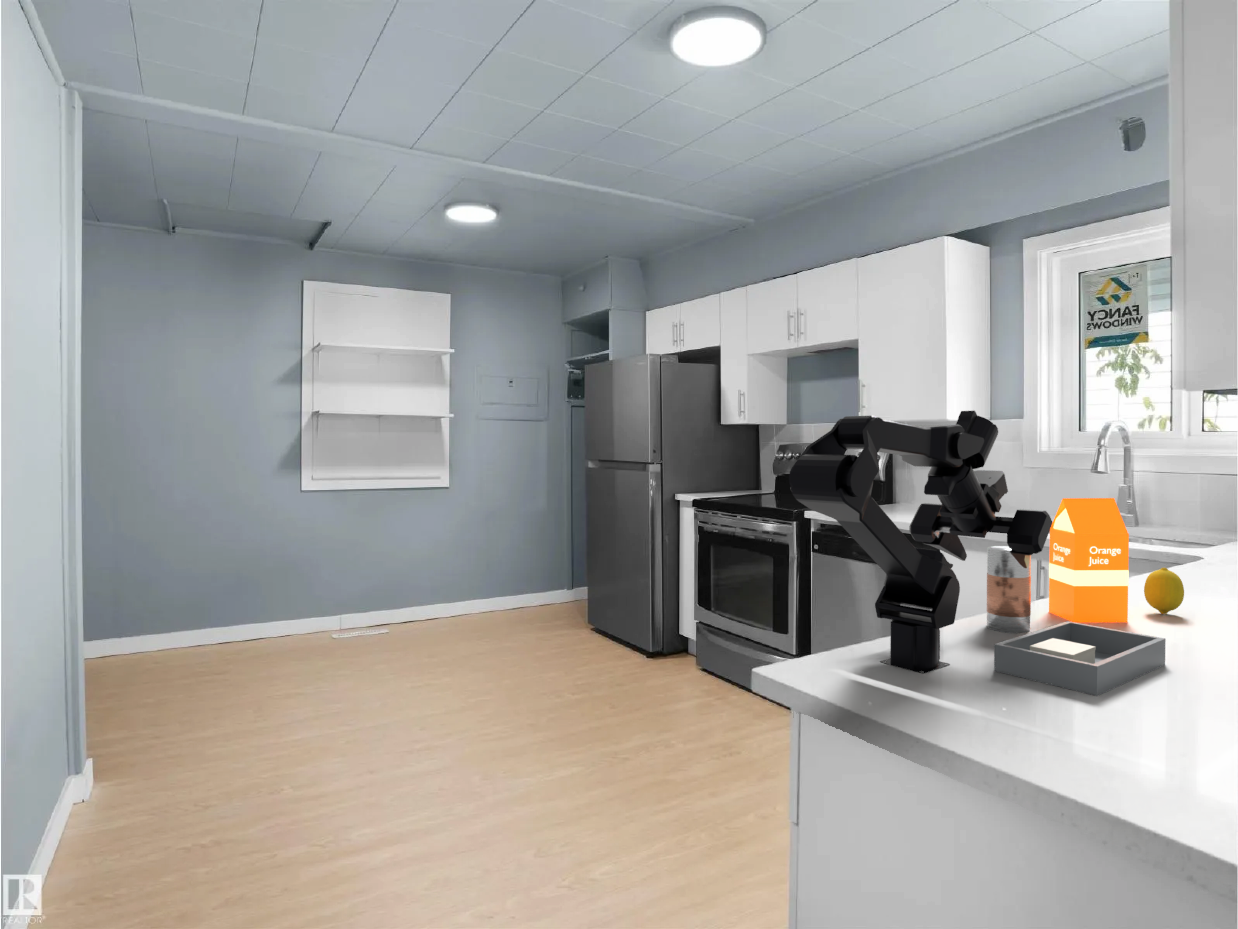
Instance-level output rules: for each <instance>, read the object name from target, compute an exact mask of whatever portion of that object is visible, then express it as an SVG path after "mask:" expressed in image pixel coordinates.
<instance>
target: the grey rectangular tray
mask: <svg viewBox="0 0 1238 929" xmlns="http://www.w3.org/2000/svg"><path fill="white" fill-rule="evenodd" d="M1052 638H1055V639H1060V640H1065V641H1070V642H1075V643H1080V644H1085V645H1090V646H1095V647H1096V650H1095V663H1094V664H1091V663H1087V662H1082V661H1078V660H1073V659H1068V658H1064V657H1059V656H1054V655H1050V654H1045V653H1040V652H1036V651H1031V650H1030V646H1031V645H1034V644H1037V643H1040V642H1043V641H1046V640H1049V639H1052ZM1166 641H1167V640H1166V638H1164V637H1158V636H1154V635H1149V634H1142V633H1135V632H1131V631H1124V630H1119V629H1115V628H1108V627H1102V626H1098V625H1091V624H1086V623H1082V622H1079V623H1075V622H1071V621H1069V620H1067V621H1064V622H1060V623H1058V624H1055V625H1051V626H1048V627H1045V628H1041V629H1038V630H1035V631H1032V632H1027V633H1024V634H1023V635H1019V636H1017V637H1012V638H1009V639H1006V640H1004V641H1000V642H997V643H994V646H993V647H994V648H993V650H994V651H993V652H994V653H993V654H994V657H993V658H994V660H993V661H994V662H993V664H994V665H993V666H994V668H993V672H997V673H1001V674H1006V675H1008V676H1012V677H1013V676H1014V677H1017V678H1021V679H1026V680H1030V681H1033V682H1036V683H1037V682H1038V683H1042V684H1046V685H1050V686H1054V687H1058V688H1062V689H1067V690H1069V691H1074V692H1078V693H1083V694H1086V695H1091V696H1095V697H1098V696H1100V695H1103V694H1105V693H1108V692H1109V691H1111V690H1113V689H1115V688H1118V687H1120V686H1122V685H1124V684H1126V683H1129V682H1131V681H1133V680H1136V679H1138V678H1140V677H1142V676H1144V675H1146V674H1149V673H1151V672H1153V671H1155V670H1157V669H1159V668H1161V667H1164V666H1166Z"/></svg>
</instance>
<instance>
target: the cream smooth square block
mask: <svg viewBox="0 0 1238 929" xmlns="http://www.w3.org/2000/svg"><path fill="white" fill-rule="evenodd" d="M1030 650H1031V651H1036V652H1040V653H1045V654H1050V655H1054V656H1059V657H1064V658H1068V659H1073V660H1078V661H1082V662H1087V663H1091V664H1094V663H1095V650H1096V647H1095V646H1090V645H1085V644H1080V643H1075V642H1070V641H1065V640H1060V639H1055V638H1052V639H1049V640H1046V641H1043V642H1040V643H1037V644H1034V645H1031V646H1030Z"/></svg>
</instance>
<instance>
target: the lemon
mask: <svg viewBox="0 0 1238 929" xmlns="http://www.w3.org/2000/svg"><path fill="white" fill-rule="evenodd" d="M1144 582H1145V583H1144V586H1143V589H1144V590H1143V592H1144V598H1145V600H1146V602H1147V603H1148V605H1149V606H1150V607H1152V608H1153V609H1155V610H1157V611H1158V612H1159V613H1160V614H1161V615H1167V614H1168V613H1170V612H1172V611H1174V610H1176V609H1177V608H1179V607H1180V606H1181V605H1182V603H1183V601H1184V598H1185V588H1184V584H1183V581H1182V579H1181V577H1180V576H1179V575H1178V574H1177V573H1175V572H1174V571H1171V570H1170V569H1168V567H1161V568H1160V569H1156V570H1154V571H1152V572H1151V573H1149V574H1148V576H1147V577H1146V579H1145V581H1144Z"/></svg>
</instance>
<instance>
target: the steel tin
mask: <svg viewBox="0 0 1238 929" xmlns="http://www.w3.org/2000/svg"><path fill="white" fill-rule="evenodd" d="M1010 551H1011V548H1009V546H1008V545H994V546H988V547H987V553H986V554H987V556H986V557H987V559H986V560H987V562H986V564H987V566H986V567H987V568H986V570H987V571H986V627H987V629H990V630H993V631H996V632H1001V633H1009V634H1027V633H1030V631H1031V614H1032V613H1031V612H1032V611H1031V609H1032V606H1031V605H1032V604H1031V603H1032V602H1031V601H1032V600H1031V597H1032V594H1031V592H1032V590H1031V589H1032V588H1031V587H1032V575H1031V574H1032V572H1031V570H1032V568H1031V565H1032V564H1031V562H1032V560H1031V559H1032V555H1030V560H1029V565H1028V567H1027V568H1024V567H1022V566H1021V565H1020V564H1019V563H1018V561H1017V560H1016V559H1015V558H1014V557H1013V555H1012V554H1011V553H1010Z"/></svg>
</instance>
